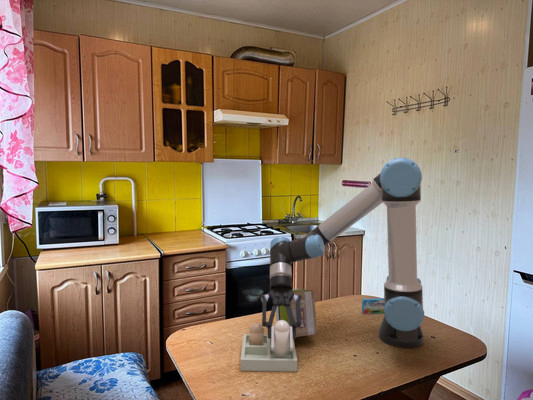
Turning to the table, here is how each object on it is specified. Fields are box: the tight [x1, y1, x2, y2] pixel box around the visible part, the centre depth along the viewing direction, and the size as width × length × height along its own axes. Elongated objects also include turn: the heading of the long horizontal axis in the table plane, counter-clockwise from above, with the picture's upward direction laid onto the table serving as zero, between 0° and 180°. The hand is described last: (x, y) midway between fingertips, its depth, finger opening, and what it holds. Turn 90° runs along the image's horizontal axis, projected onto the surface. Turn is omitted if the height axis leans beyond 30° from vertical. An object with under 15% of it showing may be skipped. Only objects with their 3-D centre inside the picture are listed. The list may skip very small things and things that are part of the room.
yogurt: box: [361, 297, 384, 315], centre depth 157 cm, size 12×2×6 cm, turn 98°
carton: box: [240, 322, 298, 373], centre depth 120 cm, size 17×17×9 cm
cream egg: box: [273, 320, 290, 357], centre depth 116 cm, size 5×5×10 cm
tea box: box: [275, 288, 318, 338], centre depth 135 cm, size 15×10×15 cm
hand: (281, 349), depth 112 cm, fingers closed on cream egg, 5 cm apart
